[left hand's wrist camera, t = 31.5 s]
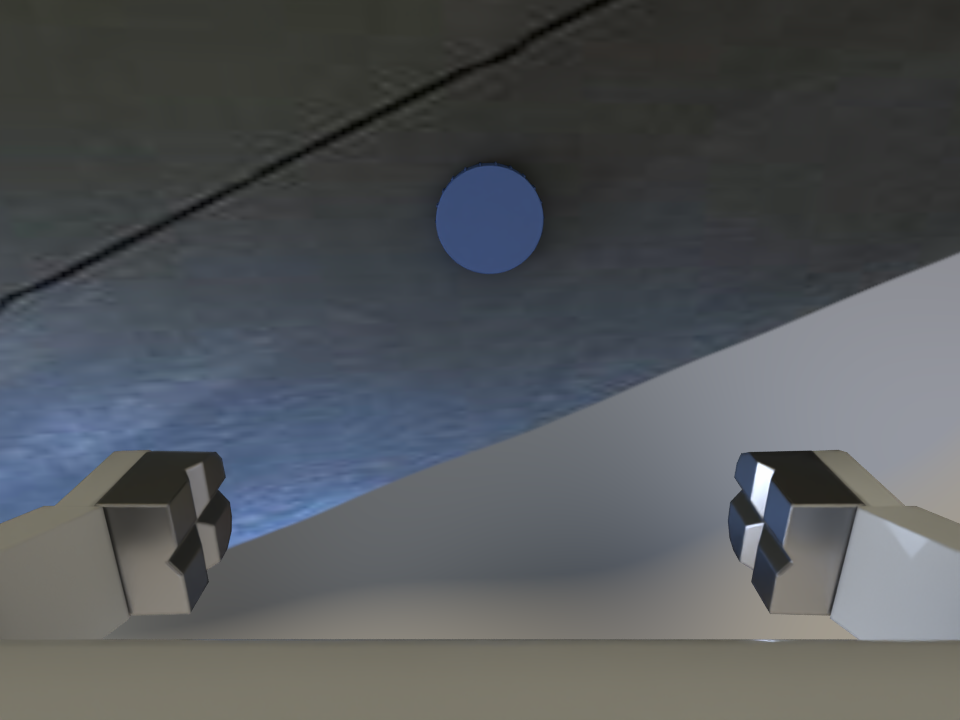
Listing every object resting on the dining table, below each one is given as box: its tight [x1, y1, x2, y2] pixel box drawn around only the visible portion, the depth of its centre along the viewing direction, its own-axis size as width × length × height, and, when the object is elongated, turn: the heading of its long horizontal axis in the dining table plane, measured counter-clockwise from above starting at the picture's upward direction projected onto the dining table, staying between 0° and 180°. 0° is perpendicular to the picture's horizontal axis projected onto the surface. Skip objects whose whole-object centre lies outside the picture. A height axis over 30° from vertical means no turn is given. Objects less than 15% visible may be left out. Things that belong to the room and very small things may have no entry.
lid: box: [435, 162, 544, 274], centre depth 36 cm, size 6×6×2 cm
